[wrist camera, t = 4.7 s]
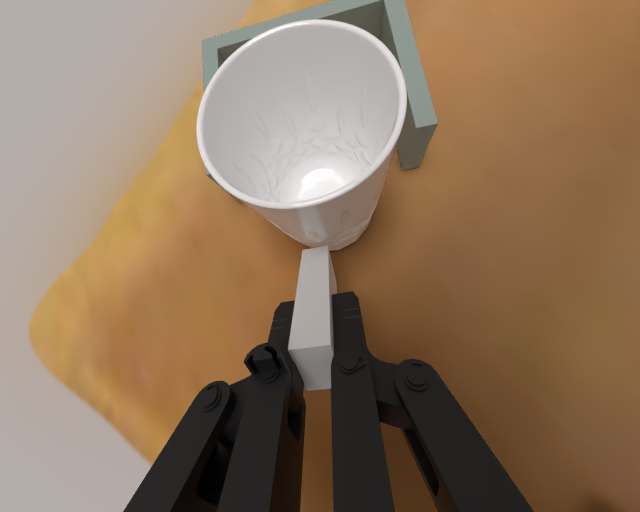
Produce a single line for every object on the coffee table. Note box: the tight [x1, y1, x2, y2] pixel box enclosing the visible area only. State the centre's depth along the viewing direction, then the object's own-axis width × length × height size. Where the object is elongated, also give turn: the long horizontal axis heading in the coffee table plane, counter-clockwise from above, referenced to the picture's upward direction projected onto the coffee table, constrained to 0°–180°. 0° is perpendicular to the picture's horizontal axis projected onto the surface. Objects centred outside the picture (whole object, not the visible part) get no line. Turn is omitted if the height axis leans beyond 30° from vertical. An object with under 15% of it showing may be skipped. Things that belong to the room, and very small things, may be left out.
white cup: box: [196, 19, 407, 251], centre depth 13 cm, size 8×8×10 cm
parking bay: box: [202, 0, 438, 203], centre depth 18 cm, size 14×11×4 cm
